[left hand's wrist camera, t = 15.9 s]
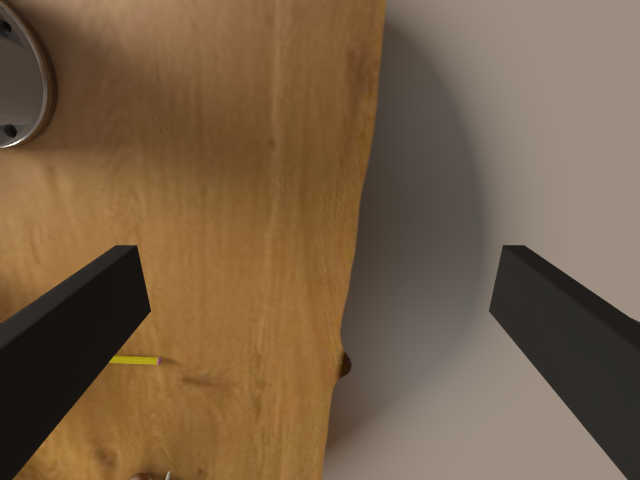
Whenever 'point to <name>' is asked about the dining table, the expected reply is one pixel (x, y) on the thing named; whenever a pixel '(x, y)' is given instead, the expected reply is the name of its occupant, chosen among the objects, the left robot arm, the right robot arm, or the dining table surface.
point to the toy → (145, 477)
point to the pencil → (136, 360)
